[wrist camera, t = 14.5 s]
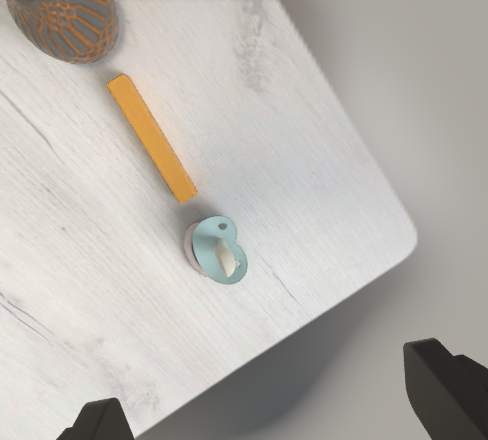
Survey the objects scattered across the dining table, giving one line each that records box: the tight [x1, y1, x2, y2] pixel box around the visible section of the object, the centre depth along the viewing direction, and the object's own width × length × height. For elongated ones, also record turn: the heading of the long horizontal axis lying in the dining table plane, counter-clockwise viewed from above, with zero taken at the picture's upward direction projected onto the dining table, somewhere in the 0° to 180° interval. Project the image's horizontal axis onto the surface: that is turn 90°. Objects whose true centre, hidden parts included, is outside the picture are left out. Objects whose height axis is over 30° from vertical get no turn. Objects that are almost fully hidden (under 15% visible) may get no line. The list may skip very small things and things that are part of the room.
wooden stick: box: [106, 74, 197, 204], centre depth 29 cm, size 12×2×2 cm, turn 28°
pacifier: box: [184, 216, 248, 284], centre depth 31 cm, size 7×6×6 cm
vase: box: [6, 0, 118, 64], centre depth 23 cm, size 7×7×9 cm
